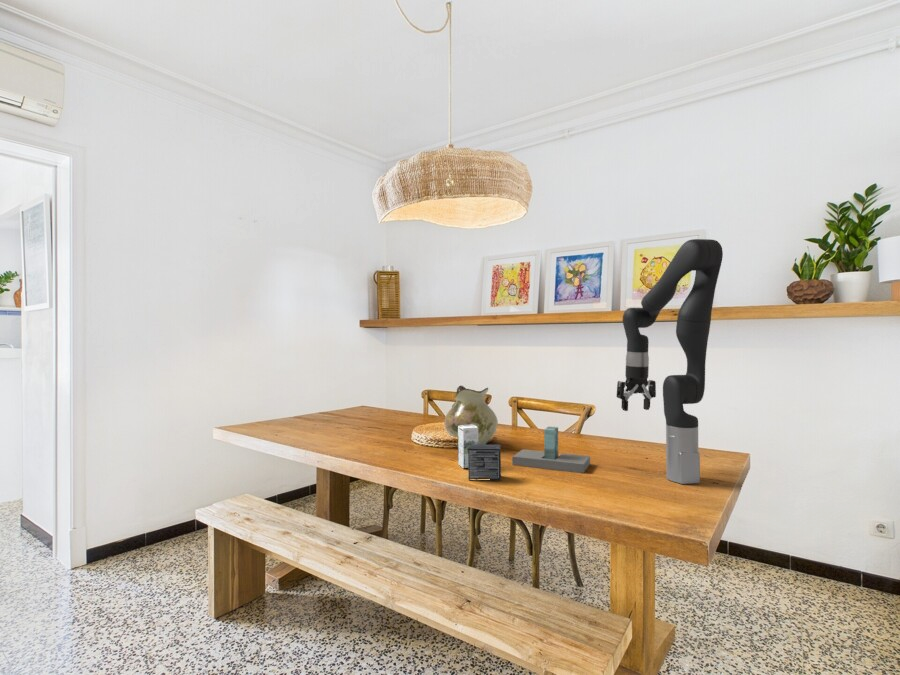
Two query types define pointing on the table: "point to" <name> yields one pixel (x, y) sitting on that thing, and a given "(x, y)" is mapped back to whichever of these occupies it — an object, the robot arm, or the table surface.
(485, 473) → the small box
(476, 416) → the pitcher
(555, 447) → the mint green pillar
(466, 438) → the syrup box
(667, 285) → the robot arm
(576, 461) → the slotted block
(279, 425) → the table surface
